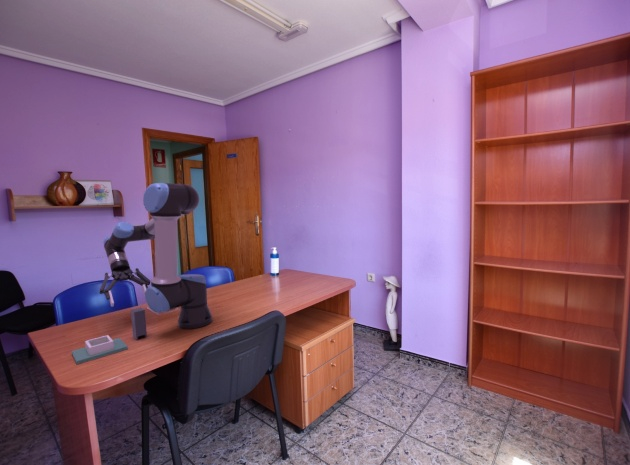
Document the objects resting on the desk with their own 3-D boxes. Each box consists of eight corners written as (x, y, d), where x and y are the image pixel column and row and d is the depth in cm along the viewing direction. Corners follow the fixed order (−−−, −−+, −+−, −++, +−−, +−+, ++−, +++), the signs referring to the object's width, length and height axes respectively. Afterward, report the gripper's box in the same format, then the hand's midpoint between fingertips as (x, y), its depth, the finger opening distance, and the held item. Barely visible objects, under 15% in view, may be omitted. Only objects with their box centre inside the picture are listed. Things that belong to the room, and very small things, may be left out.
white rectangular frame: (158, 314, 162) (146, 307, 175) (158, 315, 163) (146, 308, 175) (179, 309, 170) (166, 302, 183) (179, 310, 170) (166, 303, 183)
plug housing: (143, 334, 137) (141, 307, 136) (147, 337, 134) (144, 309, 133) (133, 337, 135) (130, 309, 134) (136, 340, 131) (134, 312, 130)
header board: (119, 340, 131) (119, 330, 131) (127, 349, 123) (126, 338, 122) (72, 354, 120) (70, 343, 120) (76, 364, 112) (75, 353, 111)
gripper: (146, 264, 160) (158, 299, 150) (86, 273, 143) (96, 312, 133) (149, 255, 156) (161, 290, 146) (87, 262, 138) (97, 303, 129)
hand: (130, 301), depth 140 cm, fingers open, 13 cm apart
